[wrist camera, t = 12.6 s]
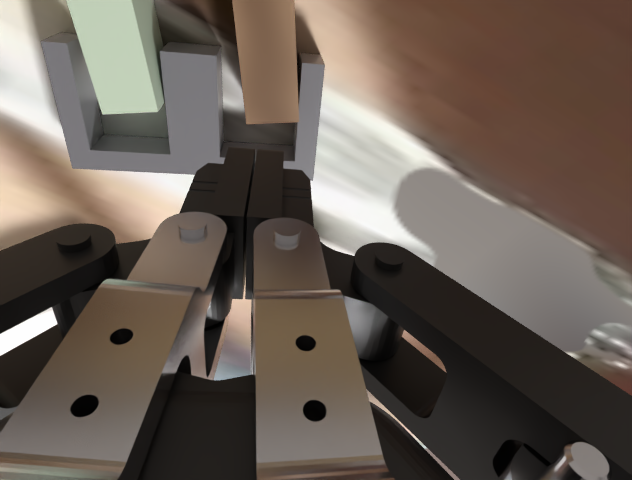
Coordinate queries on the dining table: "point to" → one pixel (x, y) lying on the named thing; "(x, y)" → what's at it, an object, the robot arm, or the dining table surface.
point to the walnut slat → (267, 60)
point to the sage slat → (121, 53)
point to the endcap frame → (171, 112)
